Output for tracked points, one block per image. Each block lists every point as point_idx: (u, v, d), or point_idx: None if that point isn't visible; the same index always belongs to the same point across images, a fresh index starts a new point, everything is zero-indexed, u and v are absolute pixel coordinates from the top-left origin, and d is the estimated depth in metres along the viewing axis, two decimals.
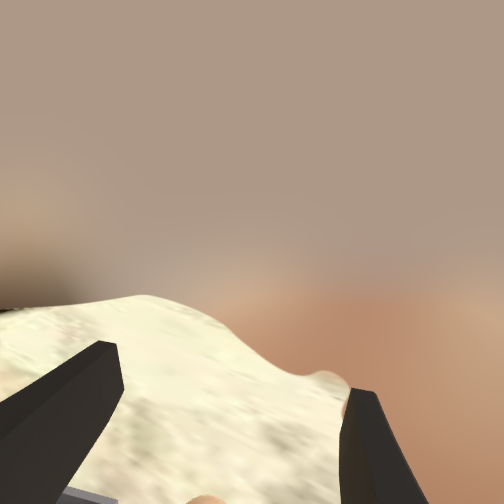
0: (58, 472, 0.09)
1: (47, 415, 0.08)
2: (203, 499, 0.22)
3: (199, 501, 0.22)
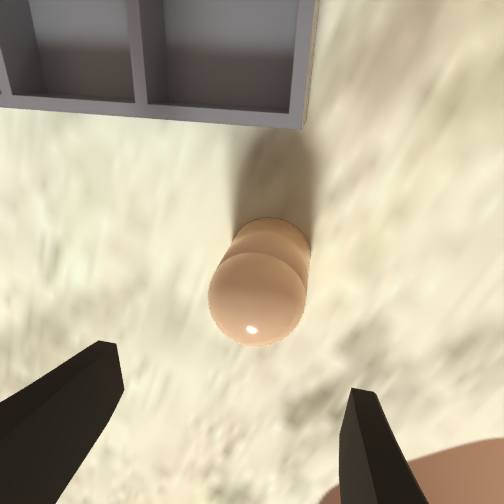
0: (58, 472, 0.09)
1: (47, 415, 0.08)
2: (275, 316, 0.13)
3: (270, 312, 0.13)
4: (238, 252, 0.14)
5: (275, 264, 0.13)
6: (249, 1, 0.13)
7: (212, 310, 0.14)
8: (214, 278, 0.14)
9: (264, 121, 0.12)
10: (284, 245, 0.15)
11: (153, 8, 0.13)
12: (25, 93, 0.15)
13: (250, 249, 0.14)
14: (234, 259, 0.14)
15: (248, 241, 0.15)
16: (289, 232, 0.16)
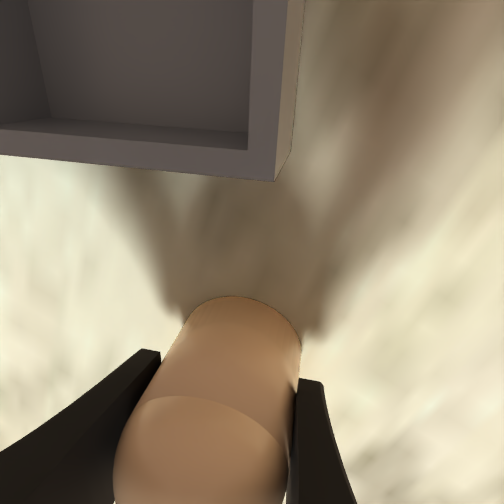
0: (109, 485, 0.09)
1: (103, 428, 0.08)
2: None
3: None
4: (168, 388, 0.08)
5: (229, 428, 0.07)
6: None
7: (116, 503, 0.08)
8: (121, 442, 0.08)
9: (200, 164, 0.06)
10: (252, 365, 0.09)
11: None
12: None
13: (188, 386, 0.08)
14: (156, 409, 0.08)
15: (190, 359, 0.09)
16: (266, 328, 0.10)
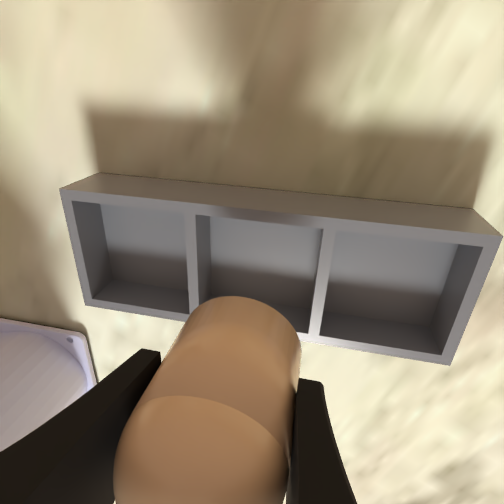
0: (109, 485, 0.09)
1: (103, 428, 0.08)
2: None
3: None
4: (167, 388, 0.08)
5: (228, 427, 0.07)
6: (405, 258, 0.16)
7: (116, 503, 0.08)
8: (121, 442, 0.08)
9: (419, 357, 0.16)
10: (252, 365, 0.09)
11: None
12: None
13: (188, 385, 0.08)
14: (156, 409, 0.08)
15: (190, 359, 0.09)
16: (266, 327, 0.10)
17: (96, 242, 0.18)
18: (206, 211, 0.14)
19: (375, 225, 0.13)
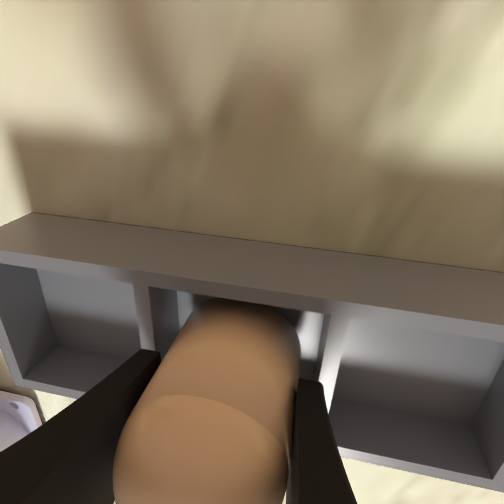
0: (109, 485, 0.09)
1: (103, 428, 0.08)
2: None
3: None
4: (167, 388, 0.08)
5: (228, 426, 0.07)
6: (441, 342, 0.11)
7: None
8: (120, 441, 0.08)
9: (460, 479, 0.11)
10: (252, 364, 0.09)
11: None
12: None
13: (187, 384, 0.08)
14: (155, 409, 0.08)
15: (189, 358, 0.09)
16: (266, 326, 0.10)
17: (28, 305, 0.13)
18: (163, 283, 0.10)
19: (408, 314, 0.09)
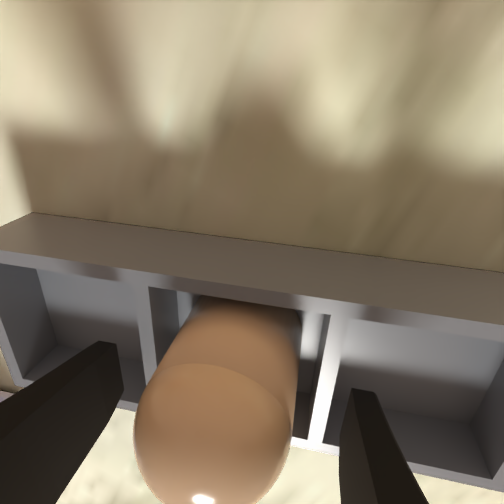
0: (58, 472, 0.09)
1: (47, 415, 0.08)
2: (234, 490, 0.07)
3: (225, 484, 0.07)
4: (181, 358, 0.09)
5: (237, 389, 0.08)
6: (441, 342, 0.11)
7: (136, 460, 0.08)
8: (140, 405, 0.09)
9: (460, 479, 0.11)
10: (258, 339, 0.10)
11: None
12: None
13: (200, 354, 0.09)
14: (172, 375, 0.08)
15: (201, 334, 0.10)
16: (270, 307, 0.11)
17: (27, 305, 0.13)
18: (163, 283, 0.10)
19: (408, 314, 0.09)
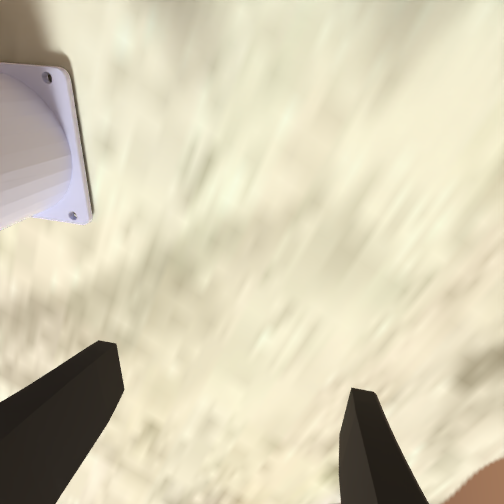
0: (58, 472, 0.09)
1: (47, 415, 0.08)
2: None
3: None
4: None
5: None
6: None
7: None
8: None
9: None
10: None
11: None
12: None
13: None
14: None
15: None
16: None
17: None
18: None
19: None
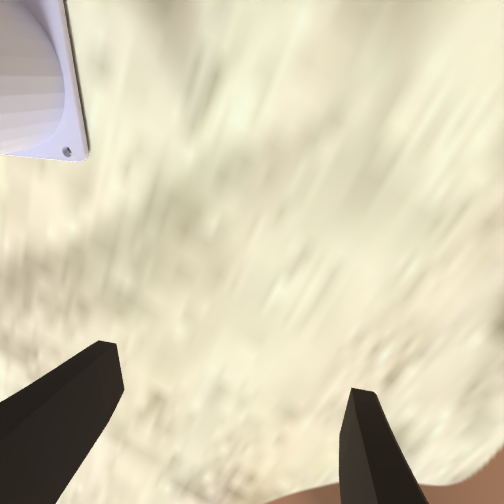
0: (58, 472, 0.09)
1: (47, 415, 0.08)
2: None
3: None
4: None
5: None
6: None
7: None
8: None
9: None
10: None
11: None
12: None
13: None
14: None
15: None
16: None
17: None
18: None
19: None
